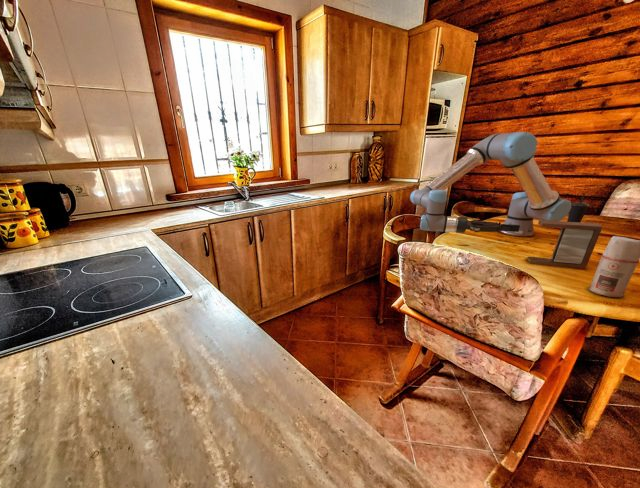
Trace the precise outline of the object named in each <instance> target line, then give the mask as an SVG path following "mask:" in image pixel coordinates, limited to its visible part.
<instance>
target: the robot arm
mask: <svg viewBox="0 0 640 488" xmlns="http://www.w3.org/2000/svg"><path fill="white" fill-rule="evenodd" d="M537 146H538V139H537V137H536V136H535V135H534V134H532V133H531V132H526V131H516V132H499V133H494V134H491V135H489V136H487V137H485V138H483V139H482V140H480V141H479V142H477V143H476V144H474V145H473V146H472V147H470V148H469V149H468V150H467V151H466V154H465V155H463V156H462V157H461V158H459V159H458V161H456V162H455V163H453V164H452V165H450V167H449V168H447V169H446V170H445V171H443V172H442V173H440V174H439V175H437V176H436V178H434V179H433V180H431V181H430V182H429V183H427V185H425V186H424V187H422V188H421V189H415V190H413V191H412V192H411V193H410V195H409V200H410V202H411V203H412V204H414V205H416V206H418V207H422V208H425V209H426V212H425V214H422V215H421V217H420V223H419V229H420V230H421V231H427V232H439V233H440V232H441V233H443V232H444V233H447V234H449V233H457V234H465V233H466V231H467V230H468V231H470V232H474V233H498V234H499V233H501V234H504V235H507V236H511V237H519V238H526V237H527V238H529V237H532V236H534V233H535V227H534V219H535V220H538V221H539V220H541V221H560V222H562V221H563V220H564V219H565V218H566V217H568V216H569V212H570V209H571V204H572V202H571V201H570V200H567V199H566V198H561V196H560V194H559V193H558V191H556V190H554V189H553V190H552V188H551V187H550V185H549V183H548V182H547V179H546V177H545V176H544V174H543V172H542V171H541V169H540V168H539V165H538V164H537V162H536V160H535V158H534V157H535V155H536V151H537V149H538V147H537ZM489 161H500V162H501V164H502V165H503V167H504V168H505V169H507V170H511V172H512V173H513V175H514V177H515V178H516V180H517V182H518V183H519V185H520V186H521V188H522V190H523V191H520V192H519V191H518V192H515V193H514V194H513V195H512V197H511V199H510V204H509V207H508V212H507V215H506V219H505V220H504V221H503V223H501V221H499V222H497V221H486V220H485V221H484V220H477V219H472V220H469V219H468V217H467V216H458V217H457V216H455V215H454V216H453V215H445V208H446V204H447V200H448V199H447V197H448V192H447V191H446V190H447V189H448V188H449V187H450V186H452V185H453V184H455V183H456V182H457V181H458V180H460V179H461V178H463V177H464V176H465V175H466V174H468V173H469V172H471V171H472V170H473V169H474V168H476V167H477V166H481V165H483V164H484V163H486V162H489Z"/></svg>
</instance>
